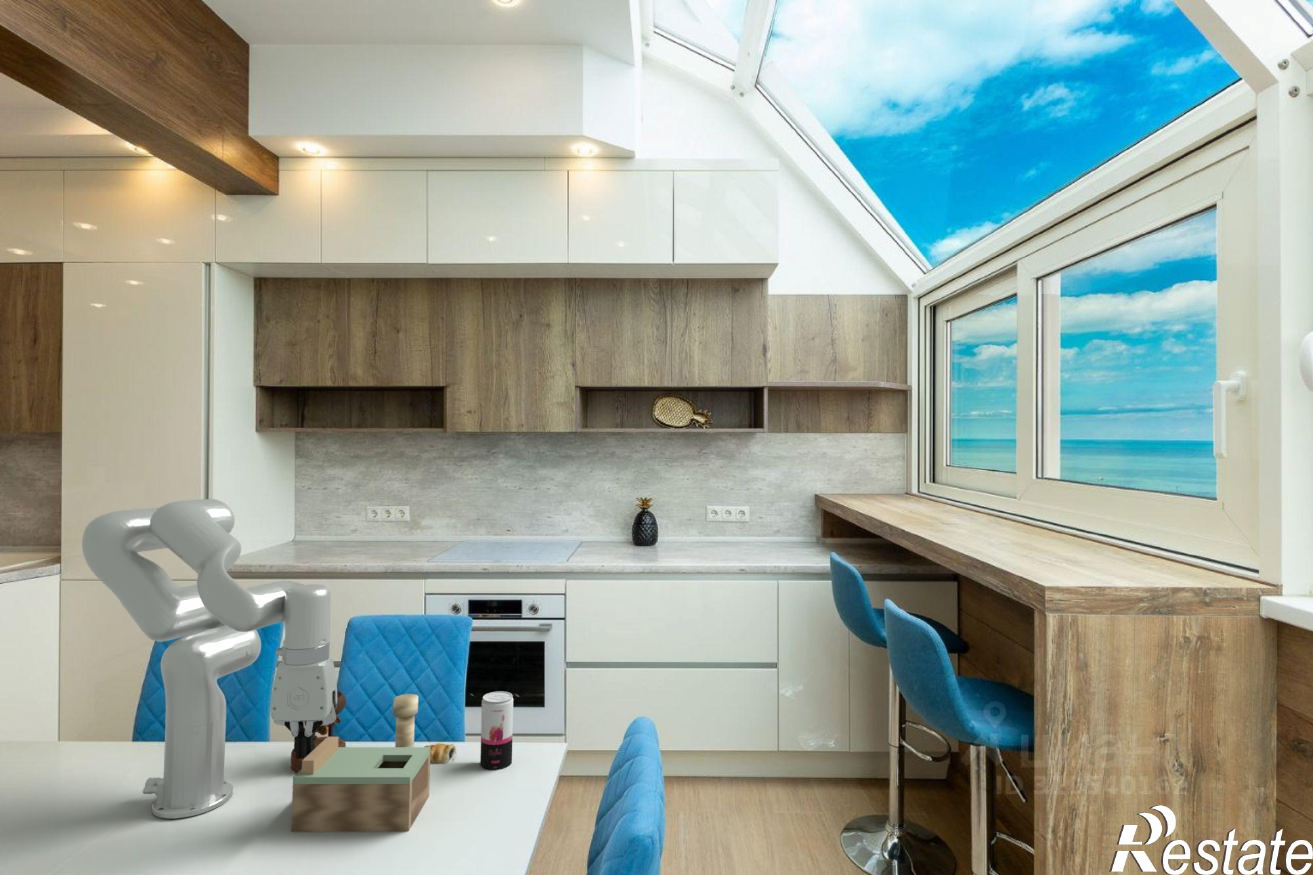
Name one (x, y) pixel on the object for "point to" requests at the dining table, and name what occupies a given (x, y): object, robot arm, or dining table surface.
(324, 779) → the green box lid
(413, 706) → the pin
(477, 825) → the dining table surface
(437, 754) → the pastry
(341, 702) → the music box
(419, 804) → the wooden box
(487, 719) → the beverage can
